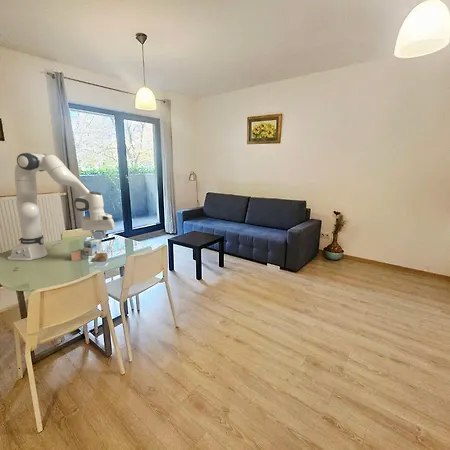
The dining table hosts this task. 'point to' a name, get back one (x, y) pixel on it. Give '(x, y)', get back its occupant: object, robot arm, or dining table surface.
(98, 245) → the light bulb box
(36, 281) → the dining table surface
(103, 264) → the tile
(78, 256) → the terracotta block
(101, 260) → the walnut block
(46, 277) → the dining table surface
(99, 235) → the slate block
